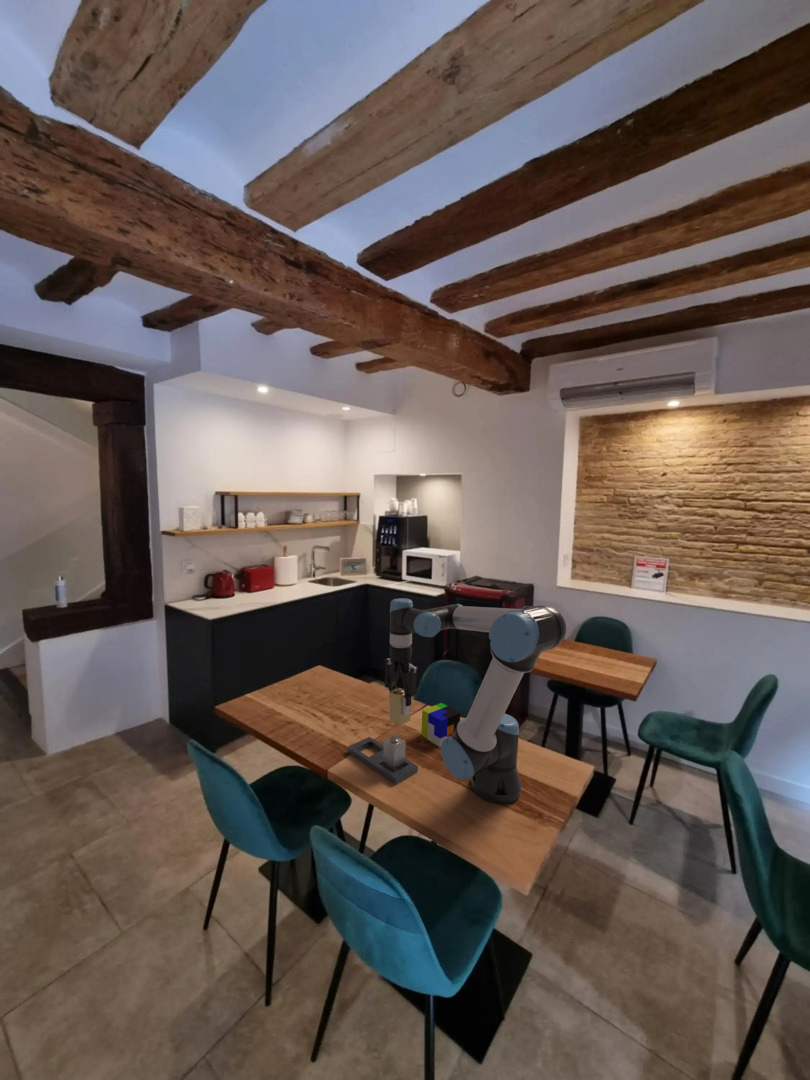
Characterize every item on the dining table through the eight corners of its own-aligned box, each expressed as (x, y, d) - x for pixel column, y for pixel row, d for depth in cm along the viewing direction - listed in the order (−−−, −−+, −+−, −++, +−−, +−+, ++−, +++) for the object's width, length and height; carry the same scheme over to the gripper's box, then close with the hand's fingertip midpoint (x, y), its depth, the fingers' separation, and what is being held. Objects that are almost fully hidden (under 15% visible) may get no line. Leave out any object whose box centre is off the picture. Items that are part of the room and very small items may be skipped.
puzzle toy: (439, 747, 162) (441, 720, 161) (421, 735, 170) (422, 709, 169) (459, 738, 169) (460, 712, 168) (440, 727, 176) (441, 702, 175)
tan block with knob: (410, 720, 155) (410, 690, 154) (400, 725, 151) (400, 695, 150) (399, 715, 158) (399, 686, 157) (389, 720, 155) (389, 690, 154)
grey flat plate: (417, 771, 147) (417, 765, 147) (395, 785, 140) (395, 778, 140) (369, 741, 164) (369, 736, 164) (347, 752, 157) (347, 746, 157)
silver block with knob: (404, 770, 148) (405, 739, 147) (393, 776, 144) (394, 745, 143) (394, 763, 151) (394, 733, 150) (382, 769, 148) (383, 739, 147)
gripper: (428, 648, 149) (427, 716, 151) (389, 637, 162) (388, 700, 163) (413, 653, 144) (412, 724, 146) (374, 641, 156) (373, 707, 158)
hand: (400, 711), depth 154 cm, fingers closed on tan block with knob, 5 cm apart
